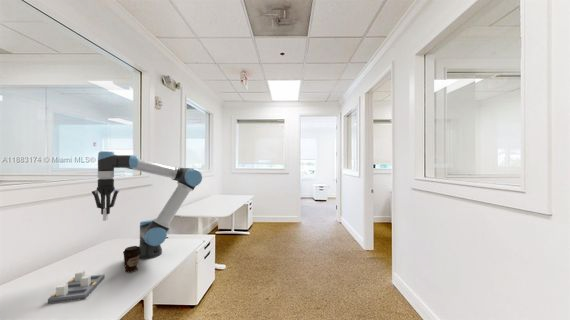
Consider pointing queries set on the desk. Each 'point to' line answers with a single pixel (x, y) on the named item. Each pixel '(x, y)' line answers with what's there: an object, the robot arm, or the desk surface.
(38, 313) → the desk surface
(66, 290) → the tab
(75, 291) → the switch board
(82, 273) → the tab
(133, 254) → the coffee cup
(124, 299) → the desk surface
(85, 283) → the tab
